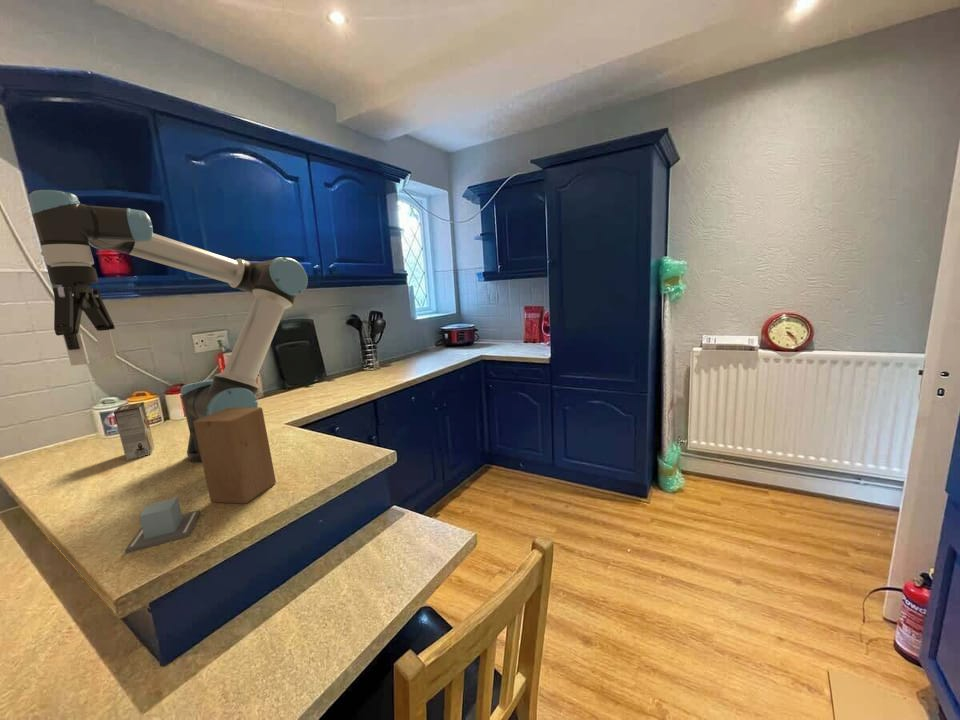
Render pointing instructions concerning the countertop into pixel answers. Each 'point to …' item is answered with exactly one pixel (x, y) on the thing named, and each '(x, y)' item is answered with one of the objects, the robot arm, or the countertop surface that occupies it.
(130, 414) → the coffee box
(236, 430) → the wooden block
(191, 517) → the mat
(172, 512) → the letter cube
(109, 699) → the countertop surface
